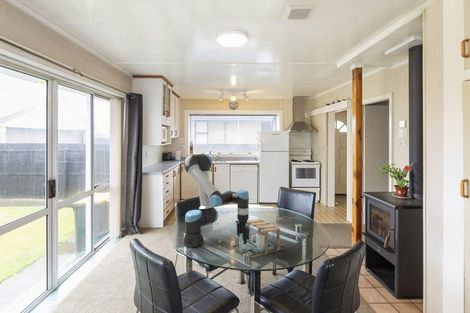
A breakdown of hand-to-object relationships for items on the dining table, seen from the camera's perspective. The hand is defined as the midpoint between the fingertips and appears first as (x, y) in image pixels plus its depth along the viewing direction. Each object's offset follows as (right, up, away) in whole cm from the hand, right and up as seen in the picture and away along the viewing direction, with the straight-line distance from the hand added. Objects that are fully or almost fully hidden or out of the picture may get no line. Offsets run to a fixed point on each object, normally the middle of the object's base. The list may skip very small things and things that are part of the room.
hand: (242, 247), depth 178 cm
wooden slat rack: (+11, -3, +7) cm, 13 cm away
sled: (+8, -2, +5) cm, 10 cm away
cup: (+12, -3, +8) cm, 15 cm away
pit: (+25, -2, +16) cm, 30 cm away
